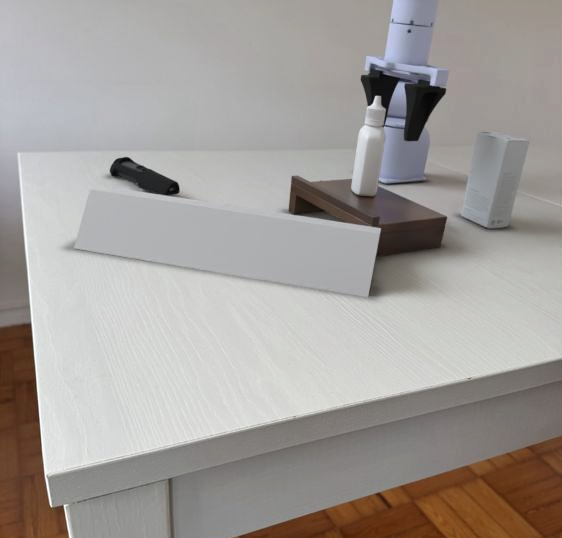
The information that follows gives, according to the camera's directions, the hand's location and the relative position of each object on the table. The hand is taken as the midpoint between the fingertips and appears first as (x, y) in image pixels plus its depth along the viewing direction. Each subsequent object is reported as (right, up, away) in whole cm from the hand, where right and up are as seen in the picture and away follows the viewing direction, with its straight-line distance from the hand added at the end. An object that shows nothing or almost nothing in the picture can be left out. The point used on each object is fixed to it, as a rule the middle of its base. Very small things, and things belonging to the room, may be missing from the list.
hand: (393, 134), depth 84 cm
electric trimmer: (-36, -6, +4) cm, 37 cm away
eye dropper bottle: (-5, -9, -3) cm, 10 cm away
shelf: (-5, -14, -4) cm, 15 cm away
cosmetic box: (+14, -12, +3) cm, 18 cm away
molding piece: (-21, -19, -14) cm, 31 cm away
